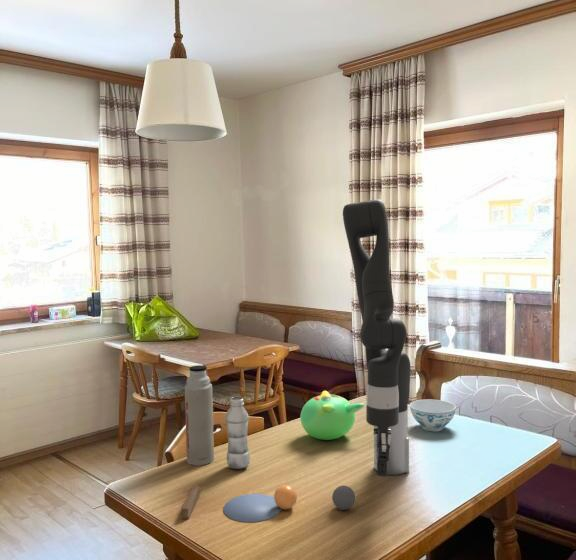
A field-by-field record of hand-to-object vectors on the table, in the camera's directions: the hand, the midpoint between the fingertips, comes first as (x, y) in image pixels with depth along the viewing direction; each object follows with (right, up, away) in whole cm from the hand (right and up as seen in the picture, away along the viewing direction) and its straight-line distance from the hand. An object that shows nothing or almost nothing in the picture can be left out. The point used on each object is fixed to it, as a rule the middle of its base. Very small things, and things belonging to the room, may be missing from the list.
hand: (381, 474), depth 134 cm
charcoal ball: (-9, -6, +1) cm, 11 cm away
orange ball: (-23, -6, +2) cm, 24 cm away
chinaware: (+27, -4, +57) cm, 63 cm away
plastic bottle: (-36, -7, +27) cm, 46 cm away
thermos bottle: (-48, -7, +33) cm, 59 cm away
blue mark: (-31, -9, +3) cm, 32 cm away
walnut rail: (-46, -9, +4) cm, 47 cm away
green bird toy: (-9, -5, +49) cm, 50 cm away
